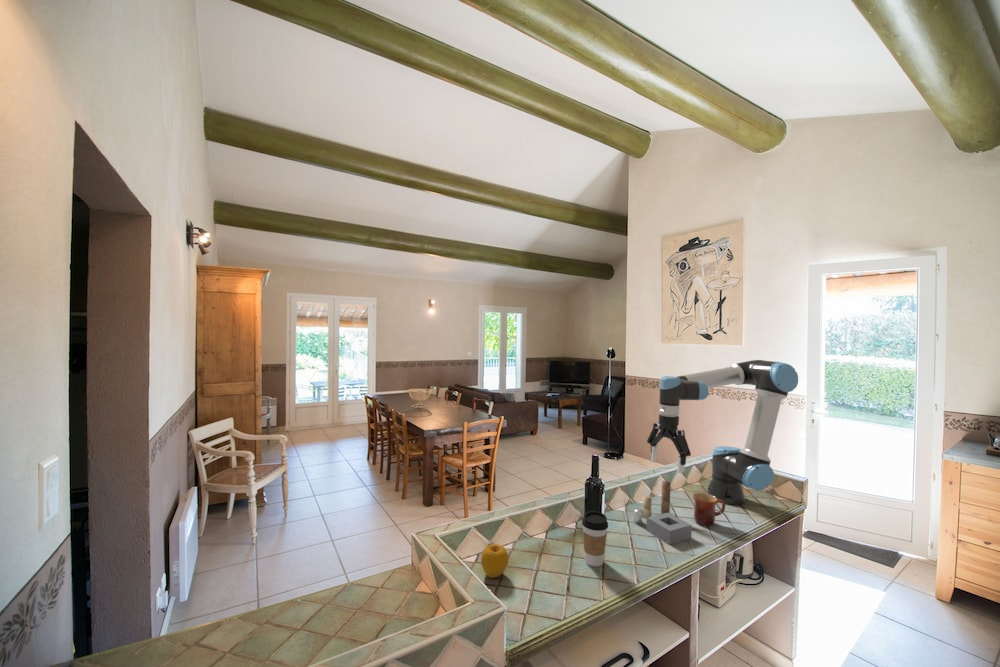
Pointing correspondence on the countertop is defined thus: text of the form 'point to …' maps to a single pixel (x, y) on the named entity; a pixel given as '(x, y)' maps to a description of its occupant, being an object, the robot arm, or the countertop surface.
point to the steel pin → (638, 516)
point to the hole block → (669, 528)
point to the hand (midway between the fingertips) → (667, 466)
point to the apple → (494, 560)
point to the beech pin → (647, 506)
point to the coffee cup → (594, 537)
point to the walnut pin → (665, 497)
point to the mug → (706, 508)
